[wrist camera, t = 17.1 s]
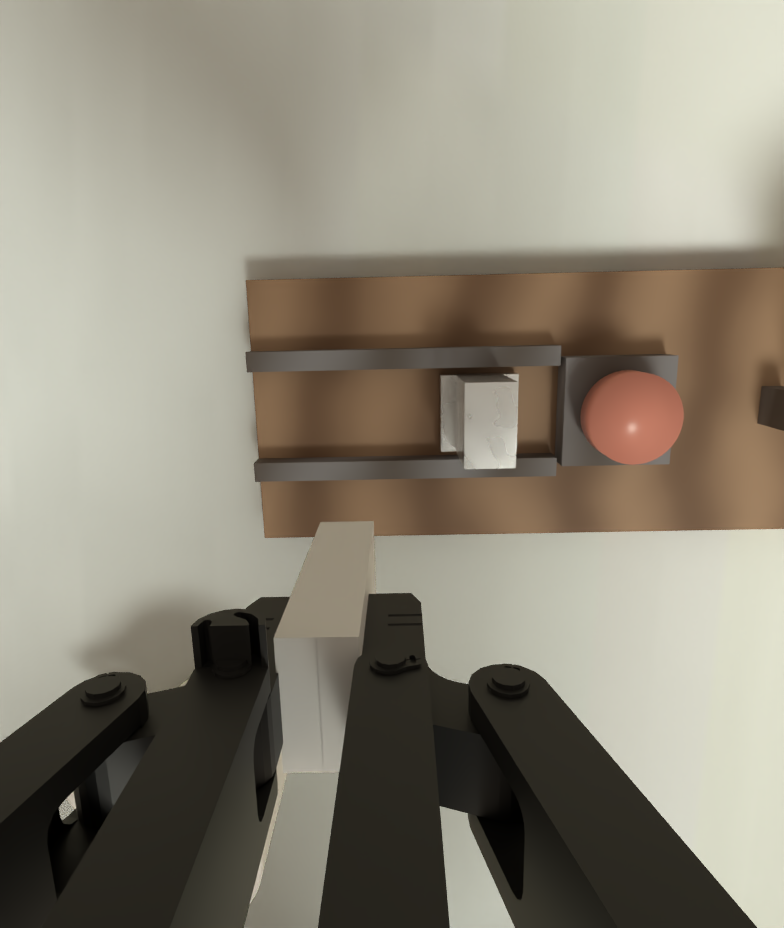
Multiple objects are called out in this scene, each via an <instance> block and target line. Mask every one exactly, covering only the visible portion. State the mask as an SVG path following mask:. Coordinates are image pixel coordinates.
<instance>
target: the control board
mask: <svg viewBox="0 0 784 928" xmlns="http://www.w3.org/2000/svg"><path fill="white" fill-rule="evenodd" d="M246 288H247V302H248V316H249V329H250V343H251V351H250V352H246V365H247V372H253V384H254V397H255V411H256V424H257V438H258V452H259V459H258V460H257V461H256V462H255V463H254V470H255V482H261V492H262V506H263V520H264V533H265V538H280V537H315V534H316V532H317V529H318V527H319V524H320V522H354V521H374V536H394V535H451V534H508V533H565V532H621V531H678V530H735V529H784V268H745V269H702V270H660V271H618V272H575V273H533V274H490V275H448V276H405V277H363V278H320V279H278V280H246ZM622 370H635V371H640V372H645V373H650V374H654V375H657V376H659V377H661V378H663V379H665V380H666V381H668V382H669V383H670V384H671V385H672V386H673V387H674V388H675V389H676V391H677V392H678V394H679V396H680V398H681V401H682V404H683V410H684V420H683V425H682V429H681V432H680V434H679V436H678V438H677V440H676V441H675V443H674V444H673V445H672V447H671V448H670V449H669V450H668V451H667V452H665V453H664V454H663V455H662V456H660V457H658V458H657V459H655V460H653V461H650V462H647V463H643V464H636V465H629V464H622V463H619V462H616V461H614V460H612V459H610V458H609V457H607V456H605V455H604V454H602V453H601V452H599V451H598V450H596V449H595V448H594V447H593V446H592V445H591V444H590V443H589V442H588V440H587V439H586V437H585V435H584V433H583V430H582V427H581V421H580V414H581V408H582V404H583V401H584V399H585V397H586V395H587V393H588V392H589V390H590V389H591V388H592V387H593V386H594V384H595V383H597V382H598V381H599V380H600V379H602V378H603V377H605V376H607V375H609V374H611V373H614V372H617V371H622ZM480 373H518V374H519V383H518V423H517V450H516V468H502V469H464V468H463V465H462V463H461V461H460V459H459V456H458V454H457V452H456V451H451V452H441V450H440V374H480Z"/></svg>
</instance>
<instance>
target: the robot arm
mask: <svg viewBox="0 0 784 928" xmlns="http://www.w3.org/2000/svg"><path fill="white" fill-rule="evenodd" d="M191 633H192V642H193V652H194V662H195V670H194V671H193V673H192V675H191V676H190V678H189V680H188V681H187V683H186V685H184V686H181V687H177V688H174V689H169V690H164V691H159V692H154V693H149V694H147V689H146V681H145V680H144V679H143V678H142V677H141V676H140V675H136V674H133V673H130V672H111V673H109V674H107V673H105V674H101V675H98V676H96V677H94V678H91V679H89V680H86V681H84V682H82V683H80V684H79V685H77V686H75V687H73V688H72V689H70V690H69V691H68V692H66V693H65V694H64V695H62V696H61V697H60V698H58V699H57V700H56V701H55V702H53V703H52V704H51V705H49V706H48V707H47V708H45V709H44V710H43V711H41V712H40V713H39V714H37V715H36V716H35V717H33V718H32V719H31V720H29V721H28V722H27V723H26V724H24V725H23V726H22V727H20V728H19V729H18V730H16V731H15V732H14V733H12V734H11V735H10V736H8V737H7V738H6V739H4V740H3V741H2V742H1V743H0V928H244V924H245V920H246V916H247V912H248V908H249V904H250V900H251V897H252V893H253V889H254V885H255V881H256V877H257V873H258V869H259V865H260V861H261V857H262V854H263V850H264V846H265V842H266V838H267V834H268V830H269V826H270V822H271V818H272V814H273V811H274V807H275V803H276V799H277V795H278V781H277V768H276V767H277V764H278V760H279V757H280V753H281V751H282V765H283V773H333V772H339V778H338V785H337V793H336V800H335V807H334V814H333V822H332V829H331V836H330V844H329V851H328V858H327V865H326V873H325V880H324V887H323V895H322V902H321V909H320V916H319V924H318V928H450V926H449V914H448V902H447V890H446V878H445V866H444V854H443V842H442V830H441V818H440V806H442V807H446V808H450V809H454V810H457V811H461V812H465V813H468V819H469V824H470V828H471V830H472V833H473V835H474V837H475V839H476V841H477V844H478V846H479V848H480V850H481V853H482V855H483V857H484V859H485V861H486V864H487V866H488V868H489V870H490V873H491V875H492V877H493V879H494V882H495V884H496V886H497V888H498V890H499V893H500V895H501V897H502V899H503V902H504V904H505V906H506V908H507V911H508V913H509V915H510V917H511V919H512V922H513V924H514V926H515V928H757V927H756V926H755V924H754V923H753V922H752V921H751V920H750V919H749V917H748V916H747V915H746V914H745V913H744V912H743V910H742V909H741V908H740V907H739V906H738V905H737V903H736V902H735V901H734V900H733V899H732V898H731V896H730V895H729V894H728V893H727V892H726V891H725V889H724V888H723V887H722V886H721V885H720V884H719V882H718V881H717V880H716V879H715V878H714V877H713V875H712V874H711V873H710V872H709V871H708V870H707V868H706V867H705V866H704V865H703V864H702V863H701V861H700V860H699V859H698V858H697V857H696V855H695V854H694V853H693V852H692V851H691V850H690V848H689V847H688V846H687V845H686V844H685V843H684V841H683V840H682V839H681V838H680V837H679V836H678V834H677V833H676V832H675V831H674V830H673V829H672V827H671V826H670V825H669V824H668V823H667V822H666V820H665V819H664V818H663V817H662V816H661V815H660V813H659V812H658V811H657V810H656V809H655V808H654V806H653V805H652V804H651V803H650V802H649V801H648V799H647V798H646V797H645V796H644V795H643V794H642V792H641V791H640V790H639V789H638V788H637V787H636V785H635V784H634V783H633V782H632V781H631V780H630V778H629V777H628V776H627V775H626V774H625V773H624V771H623V770H622V769H621V768H620V767H619V766H618V764H617V763H616V762H615V761H614V760H613V759H612V757H611V756H610V755H609V754H608V753H607V752H606V750H605V749H604V748H603V747H602V746H601V744H600V743H599V742H598V741H597V740H596V739H595V737H594V736H593V735H592V734H591V733H590V732H589V730H588V729H587V728H586V727H585V726H584V725H583V723H582V722H581V721H580V720H579V719H578V718H577V716H576V715H575V714H574V713H573V712H572V711H571V709H570V708H569V707H568V706H567V705H566V704H565V702H564V701H563V700H562V699H561V698H560V697H559V695H558V694H557V693H556V692H555V691H554V690H553V688H552V687H551V686H550V685H549V684H548V683H547V681H546V680H545V679H544V678H542V677H541V676H540V675H539V674H537V673H536V672H534V671H532V670H529V669H527V668H524V667H522V666H518V665H512V664H498V665H490V666H487V667H483V668H480V669H479V670H478V671H476V672H475V673H473V674H472V676H471V678H470V680H469V684H464V683H458V682H455V681H451V680H447V679H445V678H443V677H441V676H439V675H437V674H436V673H434V672H433V671H432V670H431V669H430V668H429V667H428V664H427V661H426V659H425V647H424V635H423V623H422V611H421V602H420V601H419V600H418V599H417V598H416V597H414V596H413V595H412V594H411V593H392V594H376V578H375V545H374V521H354V522H320V524H319V527H318V529H317V532H316V534H315V537H314V539H313V542H312V544H311V547H310V549H309V552H308V554H307V557H306V559H305V561H304V564H303V566H302V569H301V571H300V574H299V576H298V579H297V581H296V584H295V586H294V589H293V591H292V594H291V596H290V597H261V598H259V599H258V600H257V601H255V602H254V603H252V604H251V605H249V606H248V607H247V608H246V609H231V610H223V611H219V612H215V613H211V614H209V615H207V616H204V617H202V618H200V619H198V620H197V621H196V622H195V623H194V624H193V625H192V626H191ZM72 792H74V798H75V804H76V809H75V810H74V811H73V812H72V813H71V814H70V815H69V816H68V817H66V818H65V819H64V820H61V818H60V814H59V806H60V805H61V804H62V802H63V801H64V800H65V799H66V798H67V797H68V796H69V795H70V794H71V793H72Z"/></svg>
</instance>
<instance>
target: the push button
mask: <svg viewBox="0 0 784 928" xmlns="http://www.w3.org/2000/svg"><path fill="white" fill-rule="evenodd" d="M683 420H684V410H683V404H682V401H681V398H680V396H679V394H678V392H677V391H676V389H675V388H674V387H673V386H672V385H671V384H670V383H669V382H668V381H666V380H665V379H663V378H661V377H659V376H657V375H654V374H650V373H645V372H640V371H635V370H622V371H617V372H614V373H611V374H609V375H607V376H605V377H603V378H602V379H600V380H599V381H598V382H597V383H595V384H594V386H593V387H592V388H591V389H590V390H589V392H588V393H587V395H586V397H585V399H584V401H583V404H582V408H581V414H580V421H581V427H582V430H583V433H584V435H585V437H586V439H587V440H588V442H589V443H590V444H591V445H592V446H593V447H594V448H595V449H596V450H598V451H599V452H601V453H602V454H604V455H605V456H607V457H609V458H610V459H612V460H614V461H616V462H619V463H622V464H629V465H636V464H643V463H647V462H650V461H653V460H655V459H657V458H658V457H660V456H662V455H663V454H664V453H665V452H667V451H668V450H669V449H670V448H671V447H672V445H673V444H674V443H675V441H676V440H677V438H678V436H679V434H680V432H681V429H682V425H683Z"/></svg>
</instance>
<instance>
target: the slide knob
mask: <svg viewBox="0 0 784 928" xmlns="http://www.w3.org/2000/svg"><path fill="white" fill-rule="evenodd" d="M518 383H519V374H518V373H480V374H440V450H441V452H451V451H456V452H457V454H458V456H459V459H460V461H461V463H462V465H463V468H464V469H502V468H516V450H517V423H518Z"/></svg>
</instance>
